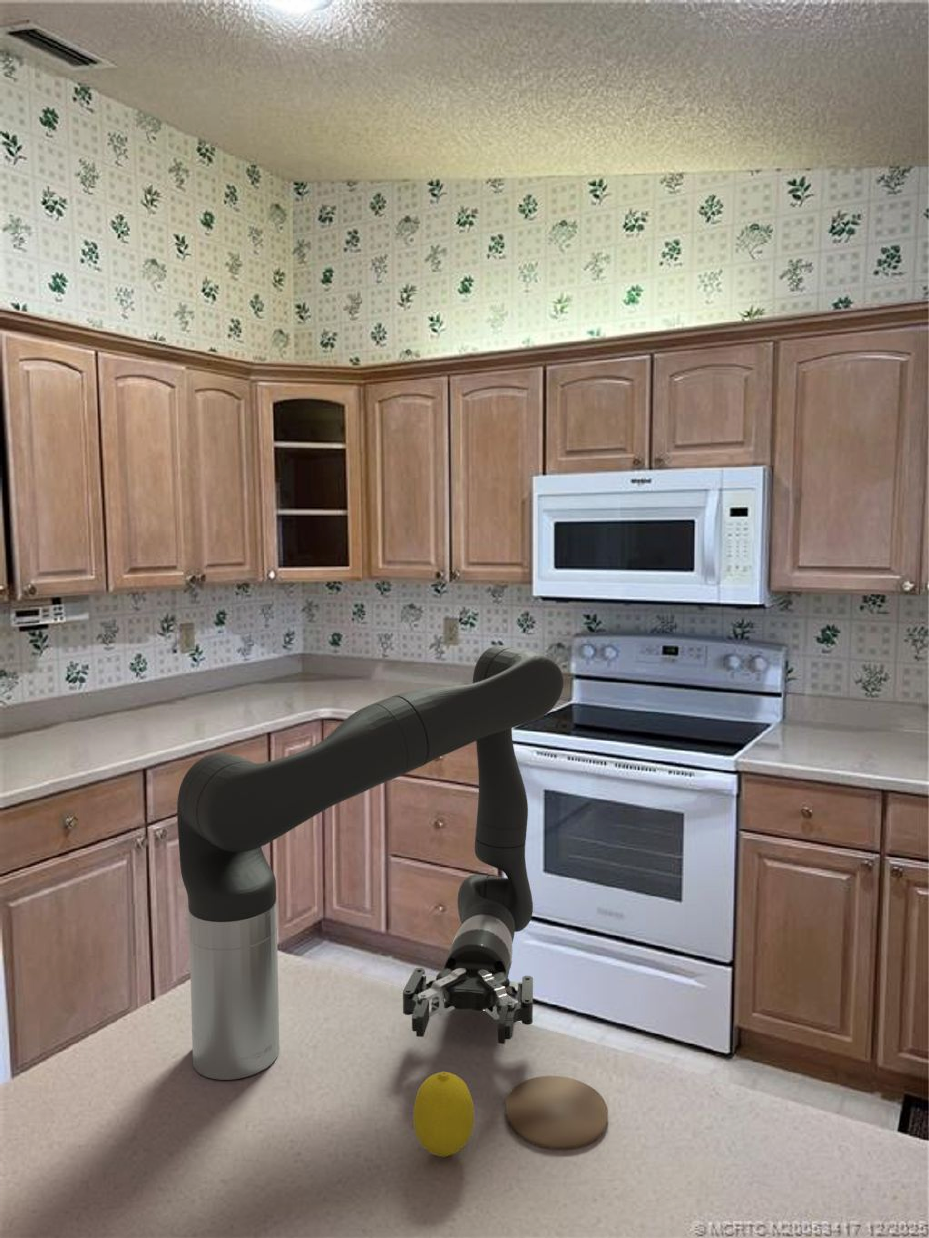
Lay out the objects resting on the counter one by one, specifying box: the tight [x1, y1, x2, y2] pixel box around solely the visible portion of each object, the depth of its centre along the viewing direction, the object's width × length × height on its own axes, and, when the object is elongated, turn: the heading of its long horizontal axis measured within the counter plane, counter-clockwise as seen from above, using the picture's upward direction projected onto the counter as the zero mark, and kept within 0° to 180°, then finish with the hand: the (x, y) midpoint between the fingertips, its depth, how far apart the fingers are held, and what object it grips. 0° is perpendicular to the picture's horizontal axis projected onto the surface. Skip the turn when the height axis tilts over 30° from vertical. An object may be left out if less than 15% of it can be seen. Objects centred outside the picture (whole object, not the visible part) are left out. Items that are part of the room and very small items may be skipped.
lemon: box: [413, 1071, 475, 1158], centre depth 80 cm, size 6×6×8 cm
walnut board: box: [505, 1075, 609, 1151], centre depth 86 cm, size 10×10×1 cm
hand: (460, 1031), depth 89 cm, fingers open, 8 cm apart
